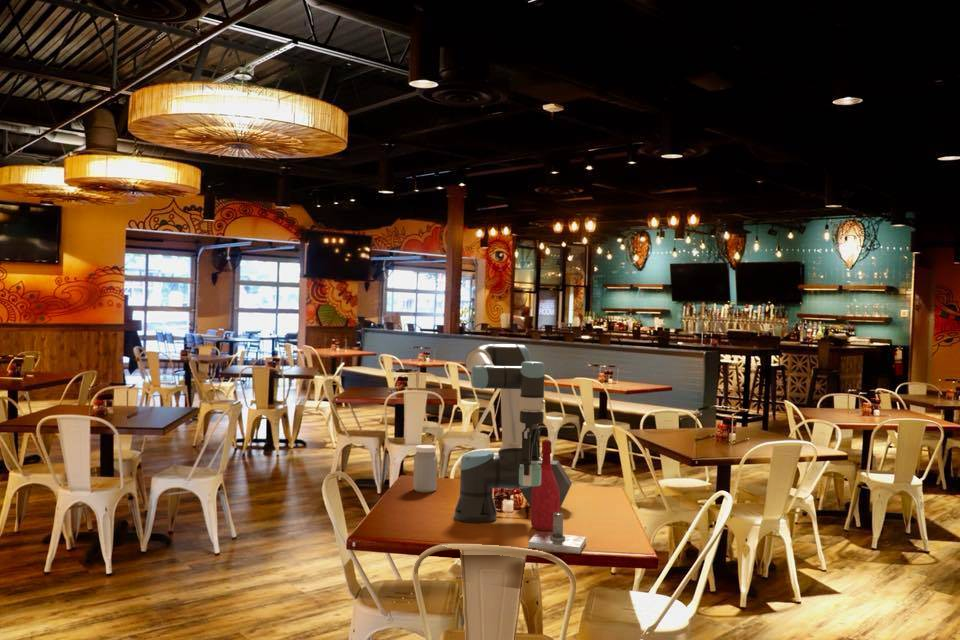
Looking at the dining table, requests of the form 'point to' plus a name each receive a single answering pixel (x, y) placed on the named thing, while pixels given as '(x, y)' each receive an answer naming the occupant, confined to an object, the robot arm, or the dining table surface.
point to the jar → (425, 469)
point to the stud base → (557, 539)
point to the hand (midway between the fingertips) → (530, 483)
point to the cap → (535, 475)
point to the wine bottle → (545, 494)
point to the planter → (560, 478)
